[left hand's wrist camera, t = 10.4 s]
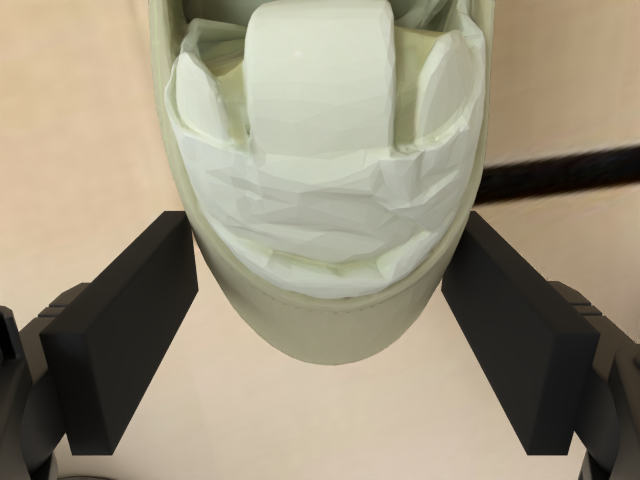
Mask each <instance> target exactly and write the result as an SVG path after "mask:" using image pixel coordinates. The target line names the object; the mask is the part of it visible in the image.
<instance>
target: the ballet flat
mask: <svg viewBox="0 0 640 480" xmlns="http://www.w3.org/2000/svg"><path fill="white" fill-rule="evenodd" d="M494 9H495V0H149V25H150V47H151V67H152V76H153V85H154V94H155V102H156V108H157V113H158V119H159V124H160V130H161V134H162V138H163V142H164V146H165V150H166V154H167V158H168V162H169V166H170V169H171V172H172V175H173V178H174V181H175V184H176V187H177V189H178V192H179V195H180V198H181V201H182V203H183V206H184V209H185V211H186V214H187V217H188V220H189V222H190V225H191V228H192V231H193V234H194V236H195V239H196V242H197V244H198V246H199V249H200V251H201V253H202V255H203V257H204V259H205V262H206V264H207V265H208V267H209V269H210V270H211V272H212V274H213V275H214V277H215V279H216V280H217V282H218V284H219V286H220V287H221V289H222V291H223V292H224V294H225V296H226V297H227V299H228V300H229V302H230V303H231V305H232V306H233V308H234V309H235V310H236V311H237V313H238V314H239V315H240V316H241V318H242V319H243V320H244V321H245V322H246V323H247V324H248V325H249V326H250V327H251V328H252V329H253V330H254V331H255V332H256V333H257V334H258V335H259V336H260V337H262V338H263V339H264V340H265V341H266V342H268V343H269V344H270V345H271V346H273V347H275V348H276V349H278V350H280V351H281V352H283V353H285V354H286V355H288V356H290V357H292V358H295V359H297V360H300V361H303V362H307V363H312V364H320V365H341V364H347V363H353V362H357V361H360V360H363V359H366V358H368V357H371V356H373V355H375V354H377V353H379V352H380V351H382V350H384V349H385V348H387V347H388V346H390V345H391V344H392V343H393V342H395V341H396V340H397V339H399V338H400V337H401V336H402V334H403V333H404V332H405V331H406V330H407V329H408V328H409V327H410V326H411V325H412V324H413V323H414V322H415V320H416V319H417V318H418V317H419V316H420V314H421V313H422V311H423V309H424V308H425V306H426V305H427V303H428V301H429V299H430V298H431V296H432V294H433V292H434V291H435V289H436V287H437V286H438V284H439V283H440V281H441V279H442V277H443V275H444V272H445V270H446V268H447V266H448V265H449V263H450V261H451V259H452V256H453V254H454V252H455V249H456V247H457V245H458V243H459V240H460V238H461V236H462V233H463V231H464V228H465V226H466V223H467V221H468V218H469V214H470V211H471V208H472V206H473V203H474V200H475V197H476V194H477V190H478V187H479V184H480V181H481V177H482V172H483V166H484V160H485V154H486V143H487V132H488V118H489V97H490V75H491V56H492V40H493V24H494Z"/></svg>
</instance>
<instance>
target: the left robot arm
mask: <svg viewBox="0 0 640 480" xmlns="http://www.w3.org/2000/svg"><path fill="white" fill-rule="evenodd" d="M198 291H199V290H198V281H197V273H196V264H195V255H194V246H193V238H192V229H191V225H190V222H189V220H188V217H187V214H186V211H164V212H163V213H162V214H161V215H160V216H159V217H158V218H157V219H156V220H155V221H154V222H153V223H152V224H151V225H150V226H149V227H148V228H147V229H146V230H145V231H144V232H142V233H141V234H140V235H139V236H138V237H137V238H136V239H135V240H134V241H133V242H132V243H131V244H130V245H129V246H128V247H127V248H126V249H125V250H124V251H123V252H122V253H121V254H120V255H119V256H118V257H117V258H116V259H115V260H114V261H113V262H112V263H111V264H110V265H109V266H108V267H107V268H106V269H105V270H104V271H103V272H102V273H100V274H99V275H98V276H97V277H96V278H95V279H94V280H93V281H92V282H91V283H80V284H78V285H77V286H75V287H73V288H71V289H69V290H67V291H65V292H63V293H62V294H60V295H59V296H58V297H57V298H56V299H55V300H54V301H53V302H52V303H50V304H49V307H46V308H45V309H44V310H43V311H42V312H41V313H39V314H38V318H34V319H33V320H32V321H31V322H30V323H28V324H27V325H26V326H25V327H24V328H23V329H22V330H21V331H20V332H18V329H17V325H16V322H15V318H14V315H13V312H12V310H11V309H9V308H7V307H5V306H0V480H105V479H99V478H91V477H71V478H63V479H57V474H58V466H57V460H56V457H55V453H54V449H55V447H56V446H57V445H58V443H59V442H60V440H61V439H62V437H63V436H64V434H65V433H66V434H67V438H68V442H69V445H70V449H71V452H72V455H113V453H114V451H115V449H116V447H117V445H118V443H119V441H120V439H121V437H122V436H123V434H124V432H125V430H126V428H127V426H128V424H129V422H130V420H131V418H132V416H133V415H134V413H135V411H136V409H137V407H138V405H139V403H140V401H141V399H142V397H143V396H144V394H145V392H146V390H147V388H148V386H149V384H150V382H151V380H152V378H153V376H154V375H155V373H156V371H157V369H158V367H159V365H160V363H161V361H162V359H163V357H164V355H165V354H166V352H167V350H168V348H169V346H170V344H171V342H172V340H173V338H174V336H175V334H176V333H177V331H178V329H179V327H180V325H181V323H182V321H183V319H184V317H185V315H186V313H187V312H188V310H189V308H190V306H191V304H192V302H193V300H194V298H195V296H196V294H197V292H198ZM441 291H442V293H443V295H444V297H445V299H446V301H447V303H448V305H449V306H450V308H451V310H452V312H453V314H454V316H455V318H456V320H457V322H458V324H459V326H460V327H461V329H462V331H463V333H464V335H465V337H466V339H467V341H468V343H469V345H470V347H471V348H472V350H473V352H474V354H475V356H476V358H477V360H478V362H479V364H480V366H481V368H482V369H483V371H484V373H485V375H486V377H487V379H488V381H489V383H490V385H491V387H492V389H493V390H494V392H495V394H496V396H497V398H498V400H499V402H500V404H501V406H502V408H503V410H504V411H505V413H506V415H507V417H508V419H509V421H510V423H511V425H512V427H513V429H514V431H515V432H516V434H517V436H518V438H519V440H520V442H521V444H522V446H523V448H524V450H525V452H526V453H527V455H568V451H569V447H570V444H571V440H572V437H573V433H574V431H575V432H576V434H577V435H578V437H579V438H580V440H581V441H582V443H583V444H584V446H585V447H586V448H587V450H586V453H585V457H584V460H583V464H582V467H581V470H580V474H579V477H578V480H640V344H636V343H635V342H634V341H633V340H631V339H630V338H629V337H628V336H627V335H626V334H625V333H624V332H623V331H621V330H620V329H619V328H618V327H617V326H616V325H615V324H614V323H612V322H611V321H610V320H609V319H608V318H607V317H606V316H602V313H601V312H600V311H599V310H598V309H597V308H596V307H595V306H591V303H590V302H589V301H588V300H587V299H586V298H585V297H584V296H582V295H581V294H580V293H579V292H578V291H576V290H574V289H572V288H570V287H568V286H566V285H564V284H563V283H561V282H559V281H546V280H545V279H544V278H543V277H542V276H541V275H540V274H539V273H538V272H537V271H536V270H535V269H534V268H533V267H532V266H531V265H530V264H529V263H528V262H527V261H526V260H525V259H524V258H523V257H522V256H521V255H520V254H519V253H518V252H517V251H516V250H515V249H514V248H513V247H511V246H510V245H509V244H508V243H507V242H506V241H505V240H504V239H503V238H502V237H501V236H500V235H499V234H498V233H497V232H496V231H495V230H494V229H493V228H492V227H491V226H490V225H489V224H488V223H487V222H486V221H485V220H484V219H483V218H482V217H481V216H480V215H479V214H478V213H477V212H476V211H470V214H469V218H468V221H467V223H466V226H465V228H464V231H463V233H462V236H461V238H460V240H459V243H458V245H457V247H456V249H455V252H454V254H453V256H452V259H451V261H450V263H449V265H448V266H447V268H446V270H445V272H444V275H443V278H442V287H441Z"/></svg>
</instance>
